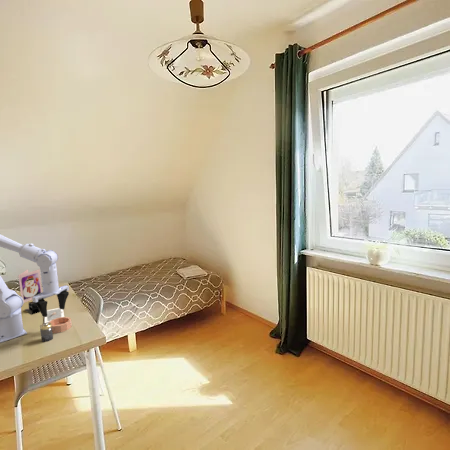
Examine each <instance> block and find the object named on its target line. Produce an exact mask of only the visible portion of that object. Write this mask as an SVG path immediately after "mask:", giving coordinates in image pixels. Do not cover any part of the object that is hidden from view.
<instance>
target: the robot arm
mask: <svg viewBox="0 0 450 450" xmlns="http://www.w3.org/2000/svg"><path fill="white" fill-rule="evenodd" d="M0 247H1V248H4V249H7V250H10V251H13V252H15V253H18V254H19V257H20V258H23V259H25V260H29V261H31V262H34V263H36V265H37V266H38V267H39V269H40V277H41V285H42V293H40V294H38V295H36V296H34V297H32V300H31V301H33V302H34V303H35V304H36V305H37V306H38V308H39V309H40V311H41V312H40V313H41V317H43V318H45V317H47V310H48V309H47V307H48V301H47V300H45V299H47V298H51V297H54V296H56V297H57V300H58V306H59V307H58V308H60V309H62V310H63V311H64V310H65V309H66V308H65V307H66V302H67V299H68V296H69V295H70V294H69V293H70V292H69V291H70V287H69V285H66V284H65V285H63V286H59V277H58V267H57V262H58V260H59V255H58V254H57V252H56V251H54V250H53V249H48V250H46V248H40V247H38V246H35V243H25V244H22V243H20V242H18V241H16V240H13V239H11V238H9V237H6V236H5V235H3V234H1V233H0ZM23 305H24V301H23V299H22V297H21V295H19V294H18V293H17V292H16V291H15V290H13V289H10V288H9V287H8V285H7V284H6V282H5V280H4V279H3V277H2V276H1V275H0V343H4V342H6V341H7V342H8V341H9V340H13V339H15V338H18V337H21V336H24V335H27V334H28V332H27V331H26V330H25V329H24V324H23V317H22V307H23Z"/></svg>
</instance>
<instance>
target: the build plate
mask: <svg viewBox="0 0 450 450" xmlns="http://www.w3.org/2000/svg"><path fill="white" fill-rule="evenodd" d="M24 311H25V312H27V313H28V314H29V315H35V314H38V313H41V311H40V309H39V308H38V306H37V305H36V304H35V303H34V302H33V300H31V301H30V302H29V301H28V308H26V309H24Z"/></svg>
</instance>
